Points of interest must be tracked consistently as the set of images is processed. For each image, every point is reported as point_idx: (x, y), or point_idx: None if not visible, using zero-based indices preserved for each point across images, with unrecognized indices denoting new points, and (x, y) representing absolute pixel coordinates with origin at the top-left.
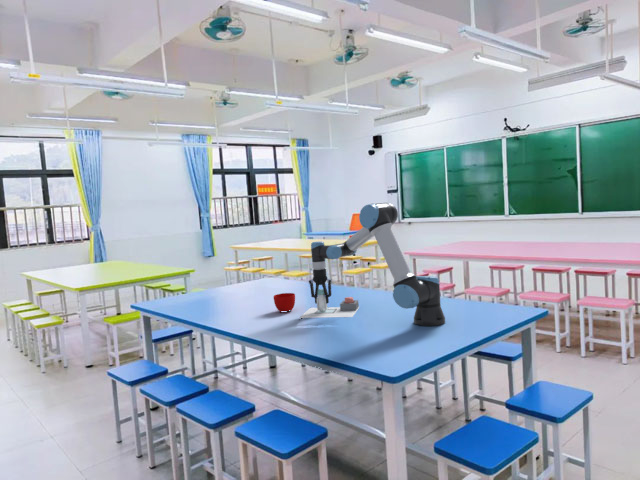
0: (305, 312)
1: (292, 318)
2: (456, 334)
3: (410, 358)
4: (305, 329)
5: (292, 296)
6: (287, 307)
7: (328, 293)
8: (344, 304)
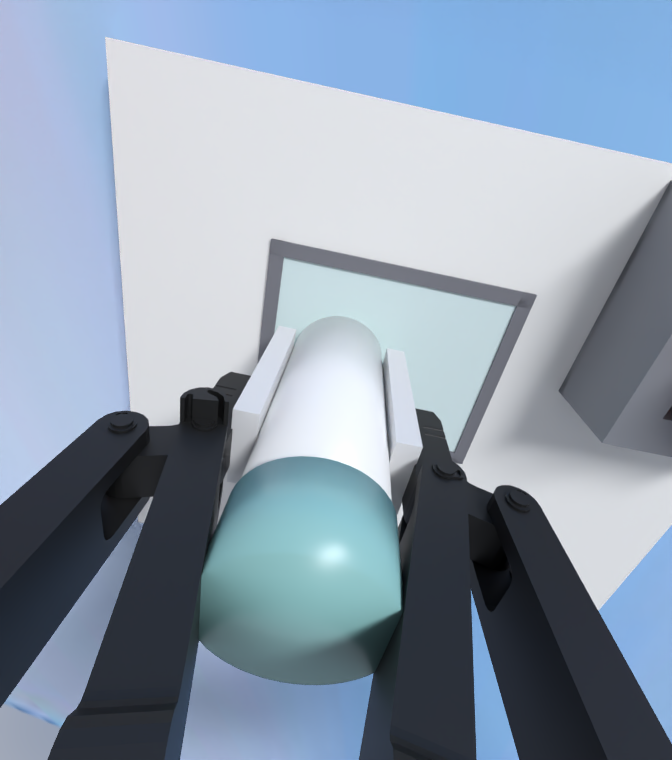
0: (131, 345)
1: (63, 446)
2: None
3: None
4: (256, 680)
5: None
6: None
7: (477, 605)
8: (659, 449)
